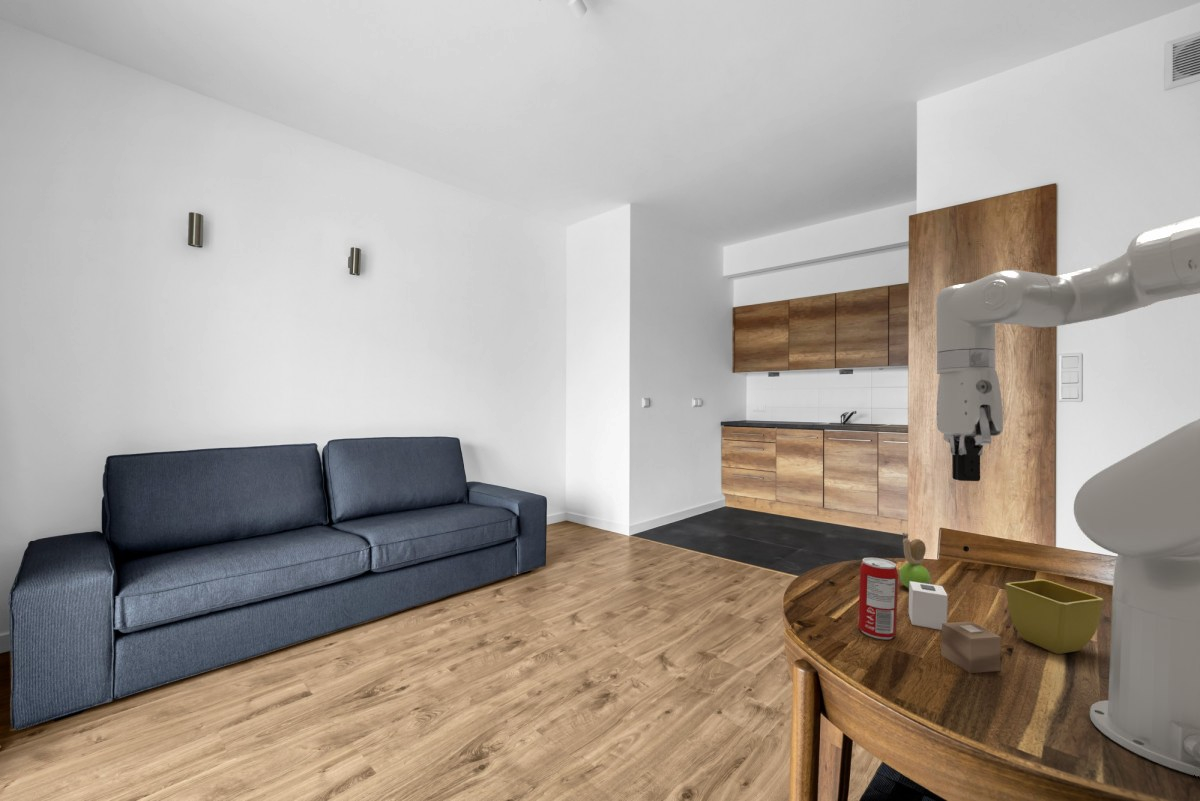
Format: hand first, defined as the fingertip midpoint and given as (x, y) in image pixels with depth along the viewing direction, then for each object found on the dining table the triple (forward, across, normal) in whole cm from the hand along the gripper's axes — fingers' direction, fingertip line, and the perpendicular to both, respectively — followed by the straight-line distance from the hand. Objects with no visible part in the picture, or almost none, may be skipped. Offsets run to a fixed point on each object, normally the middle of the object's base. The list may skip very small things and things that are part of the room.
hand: (966, 480), depth 80 cm
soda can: (+26, +4, +12) cm, 29 cm away
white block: (+26, +10, +1) cm, 28 cm away
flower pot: (+27, +4, -15) cm, 31 cm away
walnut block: (+27, -4, +2) cm, 27 cm away
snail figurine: (+26, +26, -4) cm, 37 cm away
